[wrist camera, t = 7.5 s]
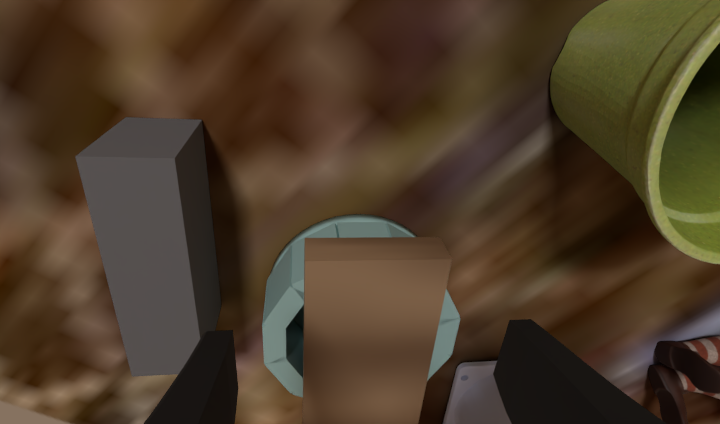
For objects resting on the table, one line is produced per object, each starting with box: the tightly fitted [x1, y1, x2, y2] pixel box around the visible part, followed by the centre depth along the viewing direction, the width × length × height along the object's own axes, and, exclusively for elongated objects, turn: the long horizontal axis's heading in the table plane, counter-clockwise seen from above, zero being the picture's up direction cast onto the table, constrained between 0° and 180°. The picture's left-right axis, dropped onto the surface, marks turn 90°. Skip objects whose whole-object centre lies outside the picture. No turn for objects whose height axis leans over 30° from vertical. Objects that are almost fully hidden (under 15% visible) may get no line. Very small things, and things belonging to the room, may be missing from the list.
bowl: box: [262, 214, 460, 397], centre depth 21 cm, size 9×9×4 cm
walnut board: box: [303, 237, 452, 424], centre depth 19 cm, size 11×6×2 cm, turn 176°
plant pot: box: [550, 0, 720, 264], centre depth 15 cm, size 9×9×9 cm
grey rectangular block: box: [75, 117, 221, 376], centre depth 18 cm, size 10×3×4 cm, turn 176°
